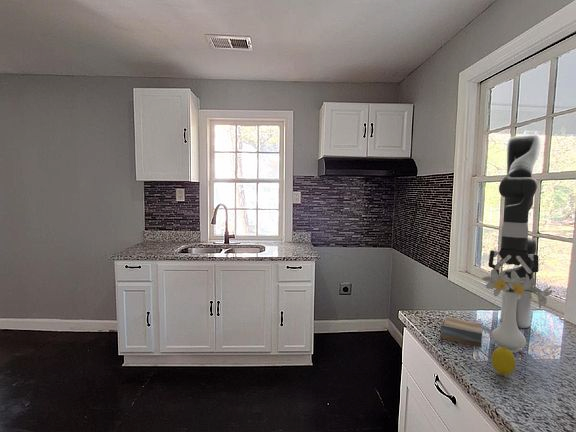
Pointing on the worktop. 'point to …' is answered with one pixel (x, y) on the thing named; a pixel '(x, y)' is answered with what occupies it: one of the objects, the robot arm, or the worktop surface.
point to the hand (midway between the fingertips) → (511, 281)
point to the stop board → (462, 331)
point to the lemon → (503, 361)
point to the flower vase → (512, 306)
